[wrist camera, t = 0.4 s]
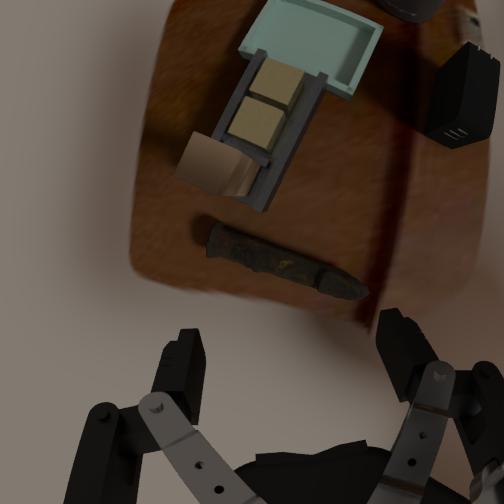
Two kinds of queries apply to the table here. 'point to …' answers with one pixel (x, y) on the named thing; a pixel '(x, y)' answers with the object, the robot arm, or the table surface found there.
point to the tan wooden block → (219, 166)
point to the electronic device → (464, 98)
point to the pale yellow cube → (258, 124)
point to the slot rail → (288, 138)
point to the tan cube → (278, 85)
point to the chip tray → (315, 40)
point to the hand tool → (282, 263)
